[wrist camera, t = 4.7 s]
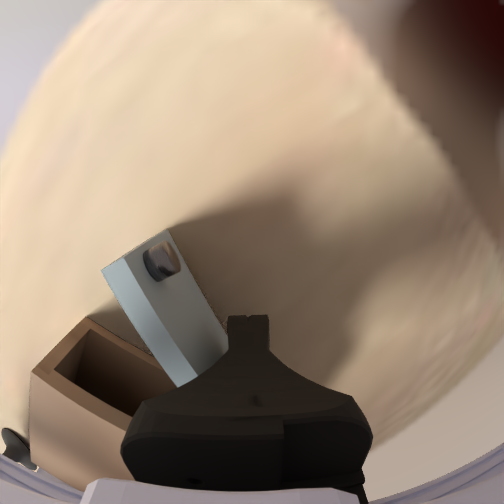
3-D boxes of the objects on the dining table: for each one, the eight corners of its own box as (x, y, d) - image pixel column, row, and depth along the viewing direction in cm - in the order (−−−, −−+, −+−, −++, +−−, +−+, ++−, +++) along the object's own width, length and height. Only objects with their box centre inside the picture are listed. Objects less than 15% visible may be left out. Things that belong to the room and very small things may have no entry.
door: (247, 395, 13) (250, 467, 9) (150, 237, 11) (100, 270, 7) (274, 385, 13) (287, 457, 9) (182, 220, 11) (145, 244, 7)
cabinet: (179, 471, 15) (170, 527, 10) (61, 412, 14) (30, 461, 9) (244, 399, 14) (247, 476, 9) (85, 316, 12) (31, 371, 7)
